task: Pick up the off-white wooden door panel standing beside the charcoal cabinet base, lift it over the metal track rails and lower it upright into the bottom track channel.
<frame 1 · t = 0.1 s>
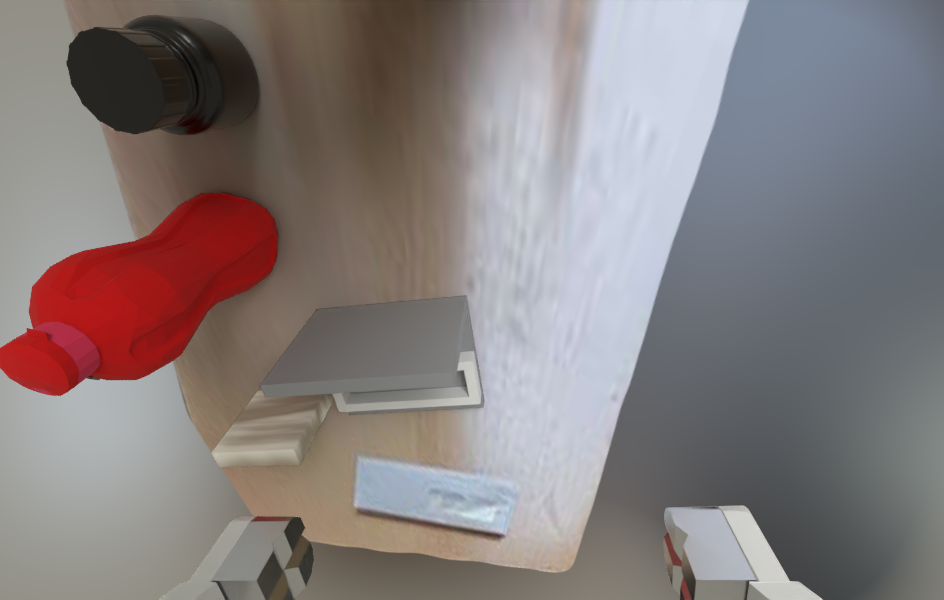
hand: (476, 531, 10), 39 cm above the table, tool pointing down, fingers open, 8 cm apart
door panel: (296, 394, 61), on the table
cabinet base: (408, 371, 58), on the table
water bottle: (241, 239, 51), on the table
ink bottle: (215, 74, 43), on the table
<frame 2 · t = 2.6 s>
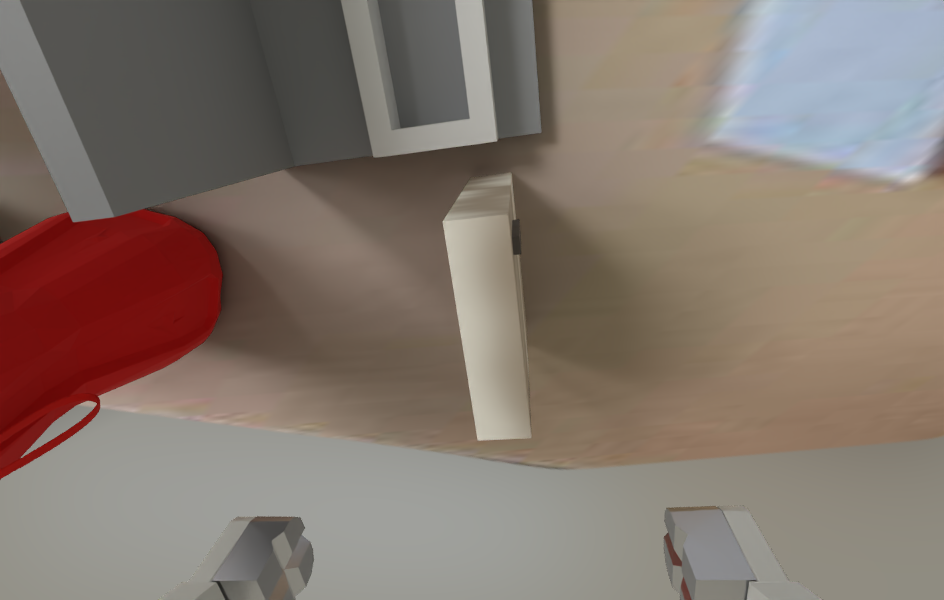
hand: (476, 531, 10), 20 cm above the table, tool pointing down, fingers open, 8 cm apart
door panel: (500, 256, 28), on the table
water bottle: (178, 274, 31), on the table
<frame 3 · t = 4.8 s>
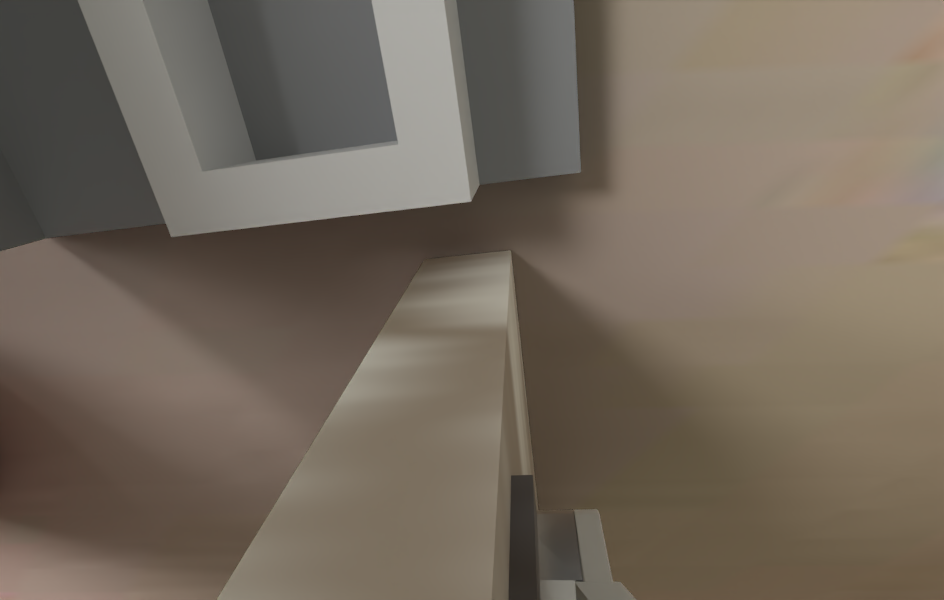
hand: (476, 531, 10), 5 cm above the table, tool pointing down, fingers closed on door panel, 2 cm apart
door panel: (489, 405, 14), on the table, touching gripper
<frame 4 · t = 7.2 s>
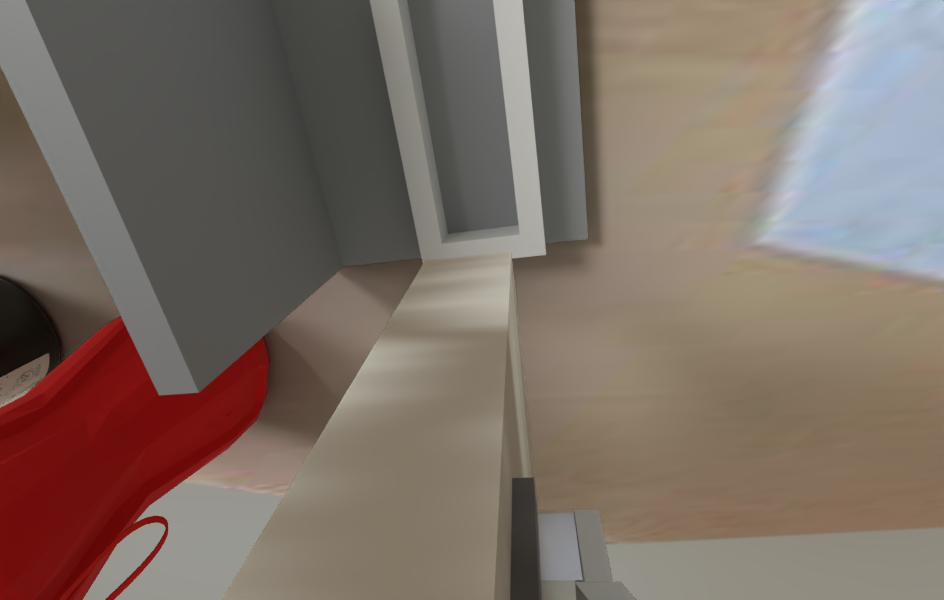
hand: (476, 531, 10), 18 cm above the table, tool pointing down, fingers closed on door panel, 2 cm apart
door panel: (489, 406, 14), point 14 cm above the table, touching gripper
cabinet base: (464, 73, 23), on the table
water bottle: (225, 357, 32), on the table
ink bottle: (9, 326, 33), on the table
when the fingers open (7 cm above the table, at t = 9.8 s): door panel drops 1 cm, resting on cabinet base.
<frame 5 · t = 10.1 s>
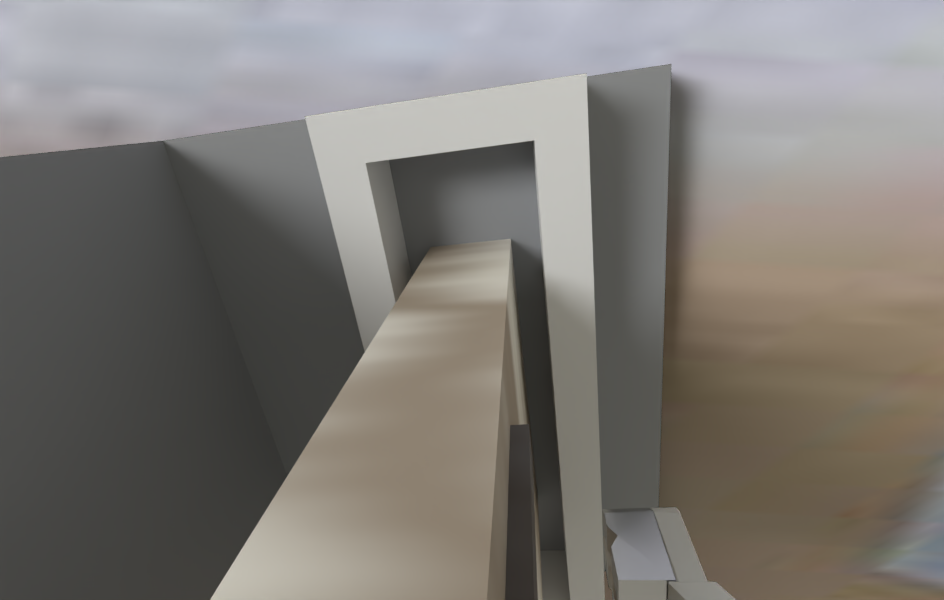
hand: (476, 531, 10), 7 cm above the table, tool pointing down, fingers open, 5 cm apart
door panel: (490, 386, 15), point 1 cm above the table, touching cabinet base
cabinet base: (493, 368, 16), on the table
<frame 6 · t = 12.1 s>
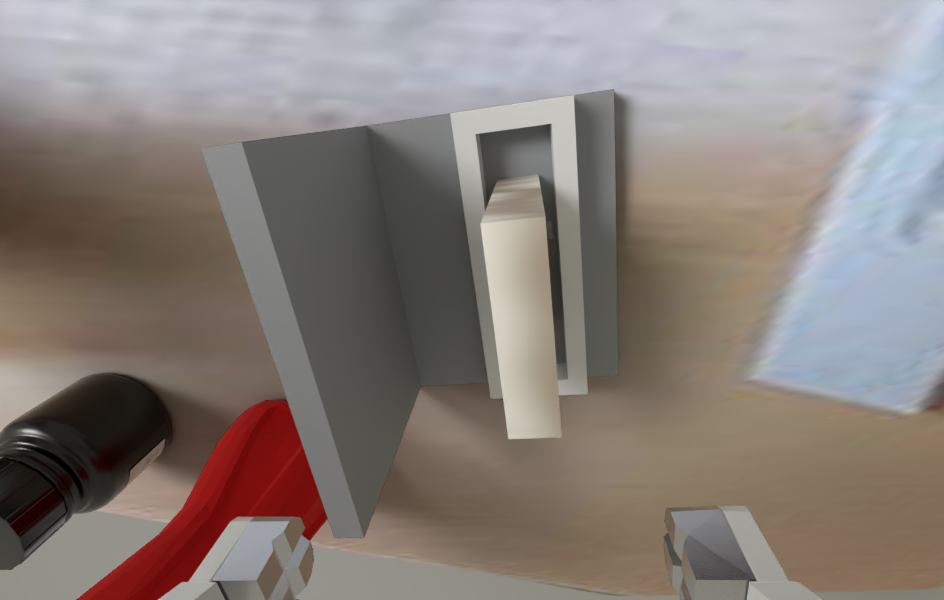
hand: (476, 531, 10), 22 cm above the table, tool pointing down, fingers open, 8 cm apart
door panel: (525, 257, 29), point 1 cm above the table, touching cabinet base
cabinet base: (526, 252, 30), on the table
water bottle: (311, 443, 39), on the table
ink bottle: (127, 412, 40), on the table
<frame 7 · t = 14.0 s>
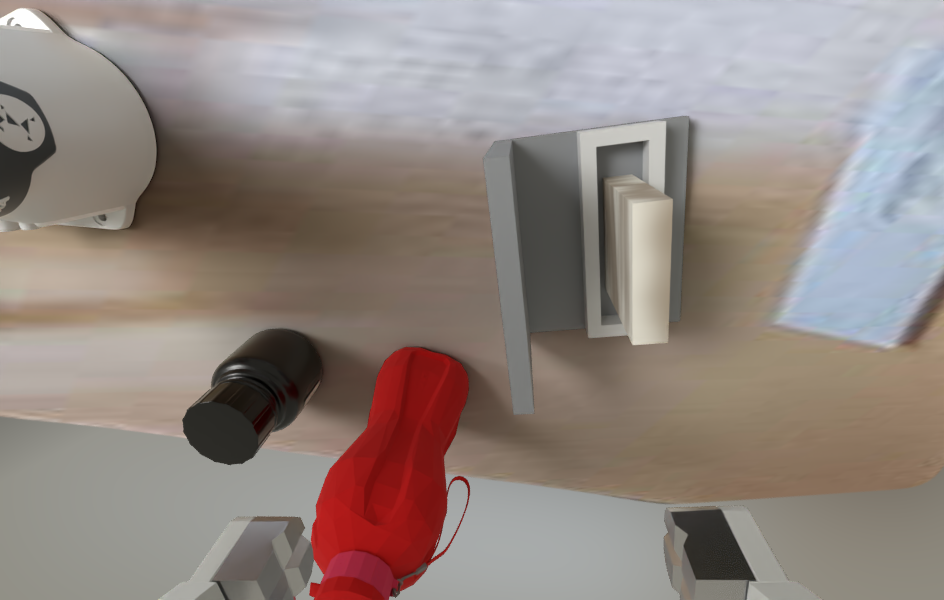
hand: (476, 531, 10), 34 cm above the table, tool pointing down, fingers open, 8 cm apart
door panel: (617, 234, 40), point 1 cm above the table, touching cabinet base
cabinet base: (615, 230, 41), on the table
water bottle: (433, 383, 50), on the table
ink bottle: (286, 361, 50), on the table
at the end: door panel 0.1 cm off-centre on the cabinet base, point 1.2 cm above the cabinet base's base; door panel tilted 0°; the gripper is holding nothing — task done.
